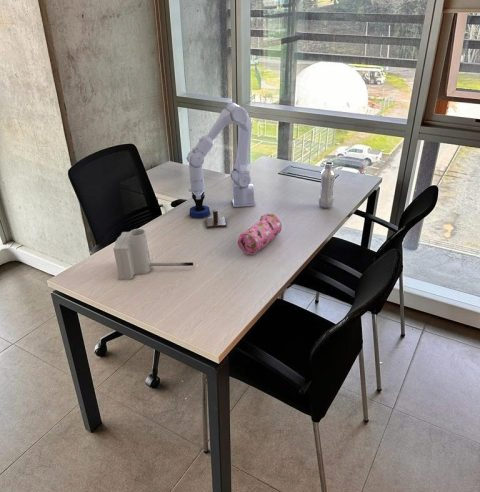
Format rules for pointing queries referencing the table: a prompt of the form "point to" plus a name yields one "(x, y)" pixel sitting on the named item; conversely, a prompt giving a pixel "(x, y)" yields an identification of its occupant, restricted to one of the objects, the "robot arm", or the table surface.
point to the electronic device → (135, 255)
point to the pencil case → (259, 234)
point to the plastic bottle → (327, 186)
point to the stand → (215, 221)
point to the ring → (199, 212)
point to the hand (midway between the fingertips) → (199, 208)
